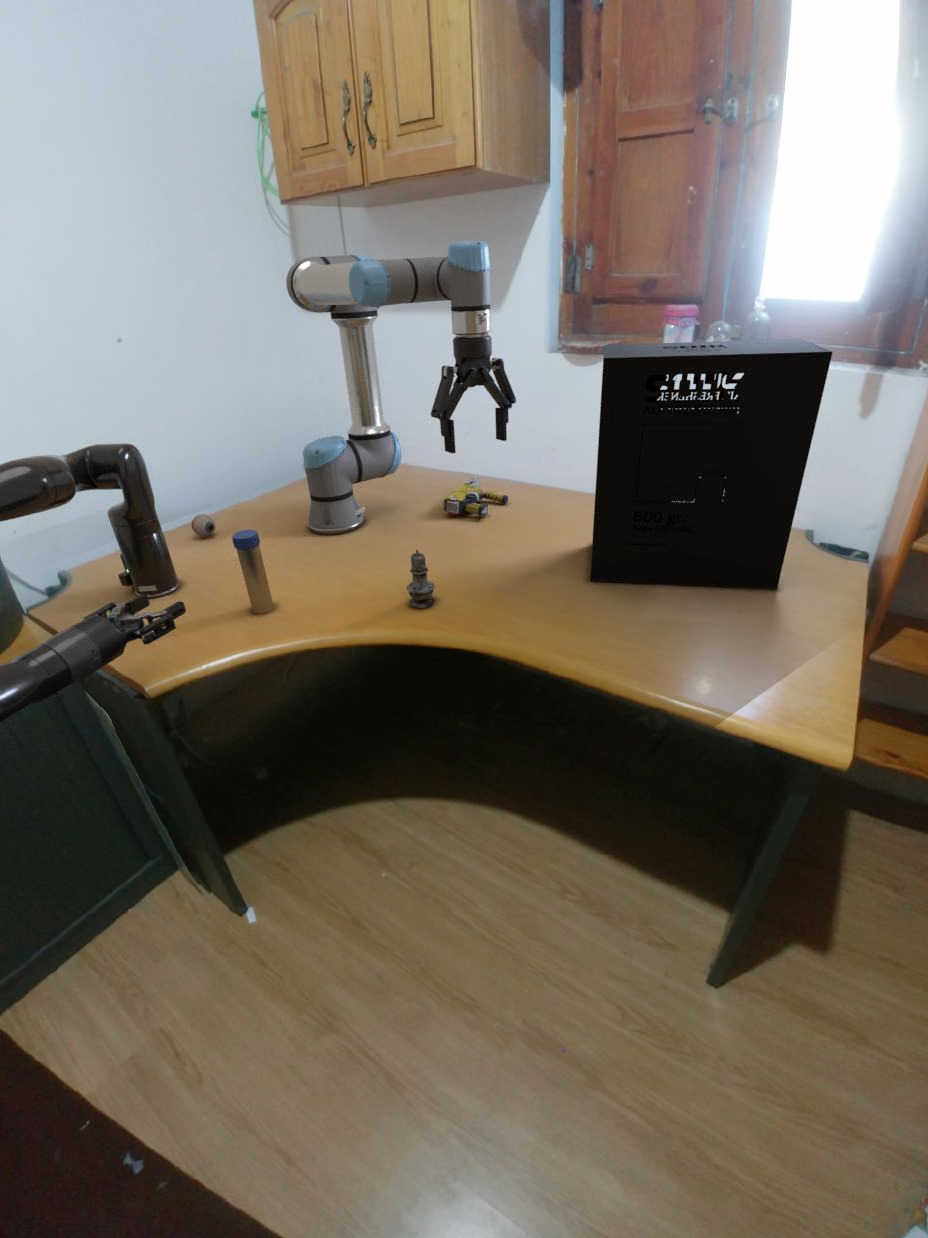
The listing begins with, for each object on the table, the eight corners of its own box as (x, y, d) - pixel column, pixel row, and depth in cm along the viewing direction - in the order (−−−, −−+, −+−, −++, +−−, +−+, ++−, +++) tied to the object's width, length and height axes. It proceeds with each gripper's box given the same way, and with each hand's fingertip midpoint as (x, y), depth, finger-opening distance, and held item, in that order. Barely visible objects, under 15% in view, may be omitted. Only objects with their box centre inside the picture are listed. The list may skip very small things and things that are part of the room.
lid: (243, 552, 118) (240, 540, 117) (229, 546, 121) (226, 535, 120) (264, 543, 121) (262, 532, 120) (251, 538, 124) (248, 527, 123)
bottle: (260, 616, 126) (241, 542, 117) (248, 609, 128) (229, 537, 120) (278, 607, 128) (261, 535, 120) (266, 601, 131) (248, 530, 123)
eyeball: (204, 541, 163) (198, 520, 160) (190, 537, 166) (184, 517, 163) (223, 533, 168) (217, 513, 165) (208, 530, 171) (202, 510, 168)
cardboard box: (756, 549, 141) (800, 338, 118) (776, 589, 124) (832, 351, 101) (592, 544, 148) (604, 344, 126) (590, 580, 131) (603, 357, 109)
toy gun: (516, 483, 183) (470, 476, 187) (493, 506, 163) (442, 498, 167) (515, 498, 186) (469, 491, 190) (492, 523, 166) (441, 514, 170)
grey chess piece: (432, 609, 124) (427, 555, 118) (404, 607, 125) (398, 554, 119) (439, 596, 129) (434, 544, 123) (412, 594, 130) (407, 543, 124)
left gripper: (105, 636, 87) (190, 588, 100) (40, 621, 92) (128, 577, 105) (122, 679, 91) (201, 627, 104) (59, 662, 96) (141, 615, 109)
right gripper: (429, 342, 108) (437, 460, 118) (533, 329, 120) (532, 437, 131) (407, 340, 113) (417, 454, 124) (508, 328, 125) (510, 432, 136)
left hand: (164, 602), depth 104 cm, fingers open, 8 cm apart
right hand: (476, 445), depth 127 cm, fingers open, 13 cm apart
